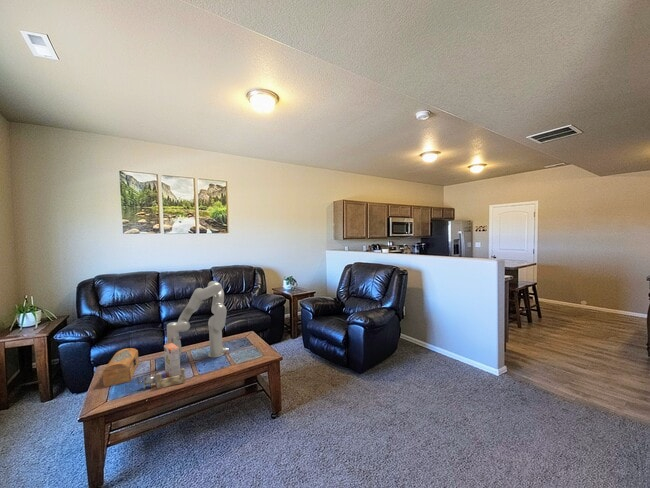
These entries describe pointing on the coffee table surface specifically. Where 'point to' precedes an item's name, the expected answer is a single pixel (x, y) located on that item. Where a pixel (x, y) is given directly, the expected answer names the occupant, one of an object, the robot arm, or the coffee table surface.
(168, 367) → the cracker box
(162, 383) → the bay
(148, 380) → the winch
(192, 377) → the coffee table surface
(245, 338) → the coffee table surface
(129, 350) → the wooden box
